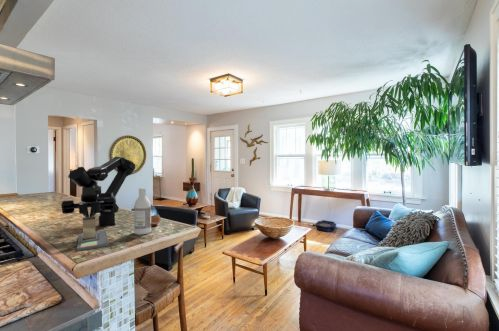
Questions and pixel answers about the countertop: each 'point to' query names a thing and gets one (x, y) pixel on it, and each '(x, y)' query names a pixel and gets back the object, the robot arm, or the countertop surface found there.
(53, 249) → the countertop surface
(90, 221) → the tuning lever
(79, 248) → the base
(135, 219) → the bath foam
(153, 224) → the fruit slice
